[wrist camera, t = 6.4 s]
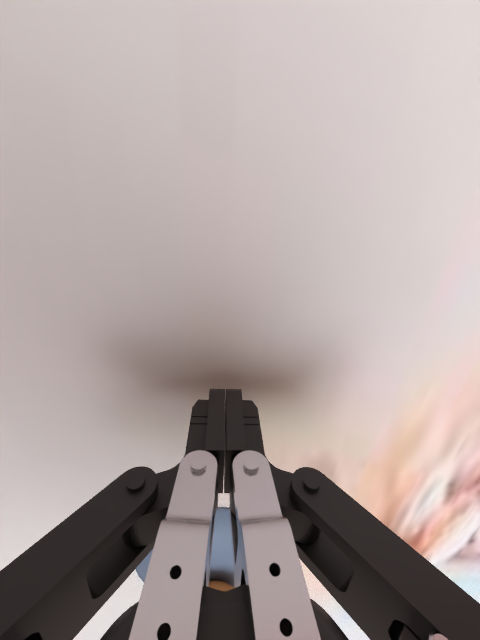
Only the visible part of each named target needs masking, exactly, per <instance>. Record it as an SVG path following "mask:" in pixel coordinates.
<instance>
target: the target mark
mask: <svg viewBox="0 0 480 640" xmlns="http://www.w3.org/2000/svg"><path fill="white" fill-rule="evenodd" d="M229 509H230V508H217V511H216V514H215V525H214V534H213V544H212V554H211V564H210V574H209V581H213V580H217V581H223V582H225V583H228V584H229V585H231V586H232V587H234V564H233V553H232V541H231V530H230V518H229ZM152 552H153V549H152V551H151V552H150V553H149V554H148V555H147V556H146V557H145V558H144V560H143V561H142V562H141V563H140V564H139V565H138V566H137V567H136V571H137V573H138V575H139V577H140V578H141V579H142V581H143V582H144V581H145V578H146V574H147V570H148V567H149V563H150V559H151V556H152Z"/></svg>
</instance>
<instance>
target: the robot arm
mask: <svg viewBox="0 0 480 640" xmlns="http://www.w3.org/2000/svg"><path fill="white" fill-rule="evenodd" d="M223 476H224V493H230V509H229V518H230V530H231V541H232V553H233V564H234V589H231V590H228V591H220V590H217V589H214V588H211V587H209V574H210V564H211V554H212V544H213V534H214V525H215V514H216V511H217V506H218V493H223ZM152 549H153V552H152V556H151V559H150V563H149V567H148V570H147V574H146V578H145V581H144V585H143V589H142V593H141V596H140V600H139V602H137V603H136V604H134V605H133V606H131V607H130V608H129V609H128V610H127V611H125V612H124V613H123V614H122V615H121V616H120V617H119V618H118V619H117V620H116V621H115V622H114V623H113V624H112V625H111V627H110V628H109V629H108V630H107V632H106V633H105V634H104V635H103V637H102V638H101V639H100V640H349V639H348V638H347V637H346V636H345V634H344V633H343V632H342V630H341V629H340V628H339V627H338V625H337V624H336V623H335V621H334V620H333V619H332V618H331V617H330V615H329V614H328V613H327V612H326V611H325V610H324V609H323V608H322V607H321V606H319V605H318V604H317V603H316V602H315V601H313V600H312V599H310V597H309V593H308V590H307V586H306V582H305V578H304V575H303V571H302V567H301V564H300V560H299V558H300V559H301V561H302V562H303V563H304V564H305V565H306V566H307V567H308V569H309V570H310V571H311V572H312V573H313V574H314V575H315V577H316V578H317V579H318V580H319V581H320V582H321V583H322V585H323V586H324V587H325V588H326V589H327V590H328V591H329V593H330V594H331V595H332V596H333V597H334V598H335V599H336V601H337V602H338V603H339V604H340V605H341V606H342V607H343V609H344V610H345V611H346V612H347V613H348V614H349V615H350V617H351V618H352V619H353V620H354V621H355V622H356V623H357V625H358V626H359V627H360V628H361V629H362V630H363V631H364V633H365V634H366V635H367V636H368V637H369V638H370V640H480V604H479V603H478V602H477V601H476V600H474V599H473V598H472V597H471V596H470V595H468V594H467V593H466V592H465V591H464V590H462V589H461V588H460V587H459V586H458V585H456V584H455V583H454V582H453V581H452V580H450V579H449V578H448V577H447V576H445V575H444V574H443V573H442V572H441V571H439V570H438V569H437V568H436V567H435V566H433V565H432V564H431V563H430V562H429V561H427V560H426V559H425V558H424V557H423V556H421V555H420V554H419V553H418V552H417V551H415V550H414V549H413V548H412V547H411V546H409V545H408V544H407V543H406V542H404V541H403V540H402V539H401V538H400V537H398V536H397V535H396V534H395V533H394V532H392V531H391V530H390V529H389V528H388V527H386V526H385V525H384V524H383V523H382V522H380V521H379V520H378V519H377V518H376V517H374V516H373V515H372V514H371V513H370V512H368V511H367V510H366V509H365V508H363V507H362V506H361V505H360V504H359V503H357V502H356V501H355V500H354V499H353V498H351V497H350V496H349V495H348V494H347V493H345V492H344V491H343V490H342V489H341V488H339V487H338V486H337V485H336V484H335V483H333V482H332V481H331V480H330V479H329V478H327V477H326V476H325V475H324V474H322V473H321V472H320V471H318V470H316V469H314V468H310V467H303V468H299V469H297V470H296V471H295V472H294V473H289V472H286V471H283V470H280V469H278V468H276V467H274V466H273V465H272V464H271V463H270V462H269V461H268V460H267V458H266V456H265V453H264V447H263V441H262V434H261V428H260V421H259V415H258V408H257V407H256V405H255V404H254V403H253V401H252V400H242V393H241V389H226V400H225V389H210V393H209V400H198V401H197V402H196V403H195V405H194V406H193V407H192V414H191V420H190V427H189V433H188V440H187V446H186V452H185V456H184V458H183V459H182V460H181V462H180V463H179V464H178V465H177V466H175V467H174V468H172V469H170V470H167V471H164V472H160V473H157V474H155V472H154V471H153V470H152V469H150V468H148V467H135V468H132V469H130V470H128V471H126V472H125V473H123V474H122V475H121V476H119V477H118V478H117V479H116V480H114V481H113V482H112V483H111V484H109V485H108V486H107V487H106V488H104V489H103V490H102V491H101V492H99V493H98V494H97V495H95V496H94V497H93V498H92V499H90V500H89V501H88V502H87V503H85V504H84V505H83V506H82V507H80V508H79V509H78V510H77V511H75V512H74V513H73V514H72V515H70V516H69V517H68V518H67V519H65V520H64V521H63V522H61V523H60V524H59V525H58V526H56V527H55V528H54V529H53V530H51V531H50V532H49V533H48V534H46V535H45V536H44V537H43V538H41V539H40V540H39V541H38V542H36V543H35V544H34V545H33V546H31V547H30V548H29V549H27V550H26V551H25V552H24V553H22V554H21V555H20V556H19V557H17V558H16V559H15V560H14V561H12V562H11V563H10V564H9V565H7V566H6V567H5V568H4V569H2V570H1V571H0V640H73V638H74V637H75V636H76V635H77V634H78V633H79V632H80V631H81V629H82V628H83V627H84V626H85V625H86V624H87V623H88V622H89V620H90V619H91V618H92V617H93V616H94V615H95V614H96V613H97V611H98V610H99V609H100V608H101V607H102V606H103V605H104V604H105V602H106V601H107V600H108V599H109V598H110V597H111V596H112V595H113V593H114V592H115V591H116V590H117V589H118V588H119V587H120V585H121V584H122V583H123V582H124V581H125V580H126V579H127V578H128V576H129V575H130V574H131V573H132V572H133V571H134V570H135V569H136V567H137V566H138V565H139V564H140V563H141V562H142V561H143V560H144V558H145V557H146V556H147V555H148V554H149V553H150V552H151V551H152Z"/></svg>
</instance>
